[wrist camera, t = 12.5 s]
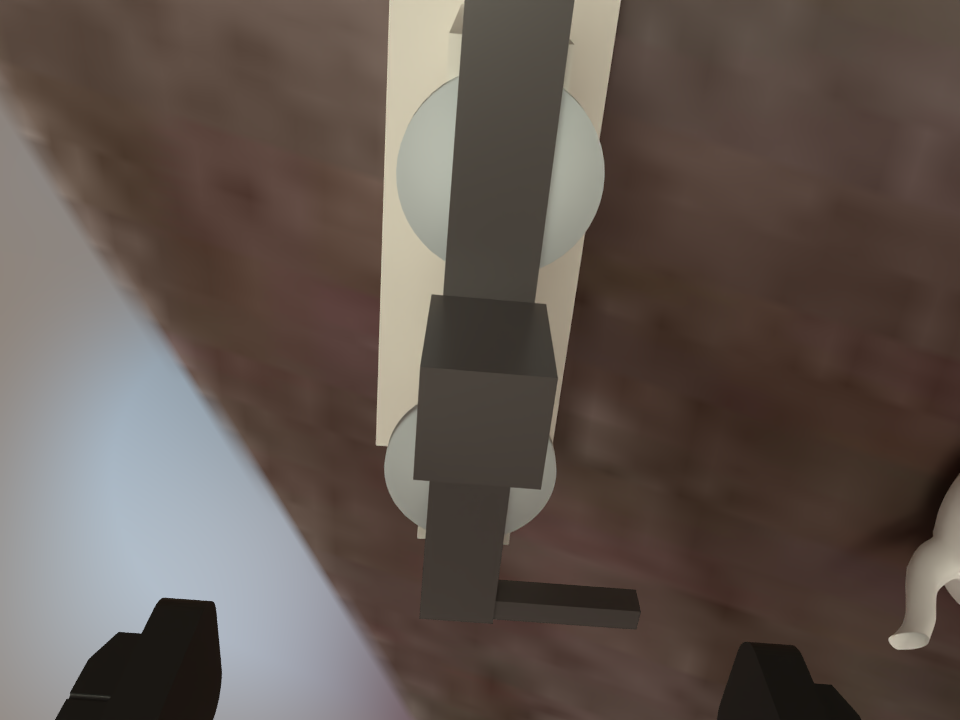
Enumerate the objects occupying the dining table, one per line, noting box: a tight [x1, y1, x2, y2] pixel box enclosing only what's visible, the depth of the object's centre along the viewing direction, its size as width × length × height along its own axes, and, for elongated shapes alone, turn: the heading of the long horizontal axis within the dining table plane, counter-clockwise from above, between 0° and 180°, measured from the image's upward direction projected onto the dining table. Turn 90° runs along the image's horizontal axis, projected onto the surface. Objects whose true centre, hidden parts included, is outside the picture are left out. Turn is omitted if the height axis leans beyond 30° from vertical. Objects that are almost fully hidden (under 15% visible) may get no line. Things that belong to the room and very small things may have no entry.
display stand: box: [376, 0, 621, 545], centre depth 28 cm, size 22×8×12 cm, turn 175°
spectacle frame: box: [384, 0, 641, 629], centre depth 20 cm, size 20×9×5 cm, turn 175°
